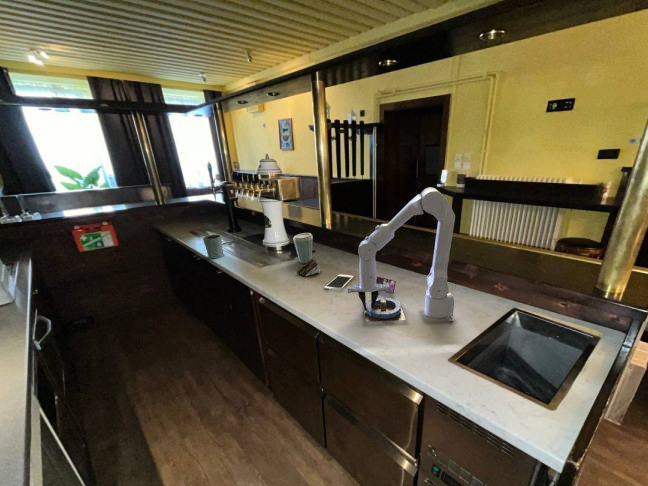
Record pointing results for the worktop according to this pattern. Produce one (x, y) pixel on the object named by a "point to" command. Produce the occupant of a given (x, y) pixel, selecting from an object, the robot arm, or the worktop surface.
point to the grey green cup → (213, 246)
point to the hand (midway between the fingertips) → (368, 309)
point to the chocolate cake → (309, 268)
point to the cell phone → (339, 281)
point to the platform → (388, 307)
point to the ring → (384, 314)
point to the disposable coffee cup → (304, 246)
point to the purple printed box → (381, 280)
